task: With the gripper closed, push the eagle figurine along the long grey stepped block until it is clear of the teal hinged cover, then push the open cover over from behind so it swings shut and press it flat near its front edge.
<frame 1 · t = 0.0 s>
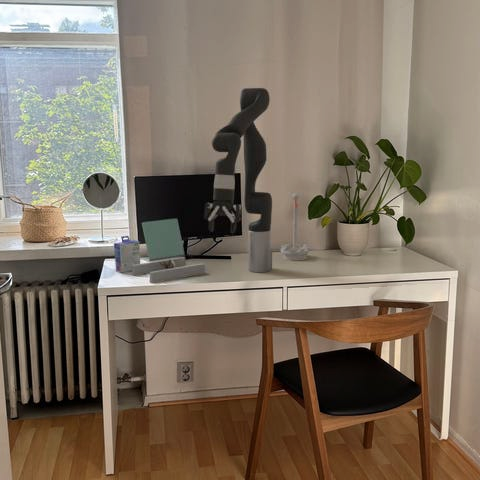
hand: (221, 232, 228), 22 cm above the table, tool pointing down, fingers open, 8 cm apart
eagle figurine: (170, 274, 259), on the table
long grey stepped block: (168, 273, 258), on the table
ink cartridge box: (128, 270, 266), on the table
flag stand: (294, 258, 288), on the table
cover: (163, 239, 267), point 12 cm above the table, hinge at 110.0°
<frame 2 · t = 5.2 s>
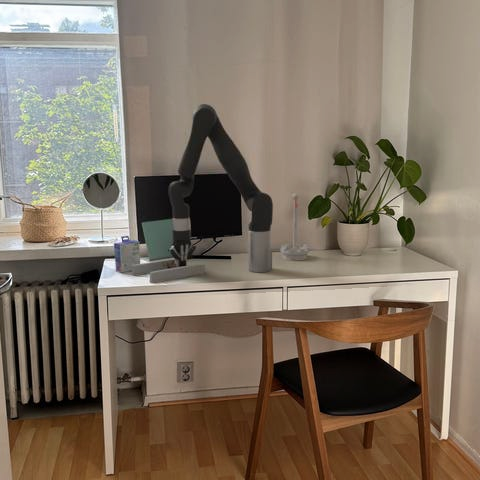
hand: (182, 268, 263), 1 cm above the table, tool pointing down, fingers closed
eagle figurine: (173, 274, 258), on the table, touching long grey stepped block, gripper
everything else where it was.
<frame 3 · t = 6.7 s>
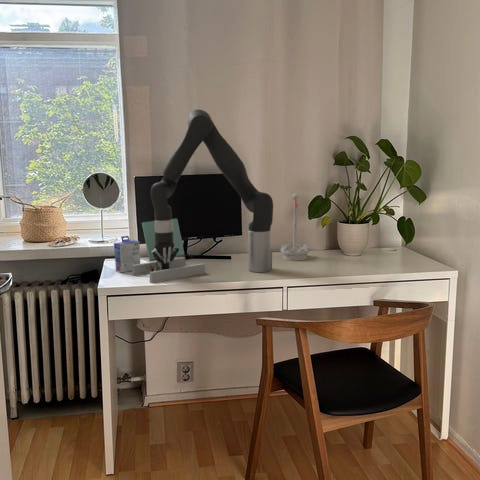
hand: (165, 271, 257), 1 cm above the table, tool pointing down, fingers closed
eagle figurine: (157, 277, 254), on the table, touching gripper
everything else where it was.
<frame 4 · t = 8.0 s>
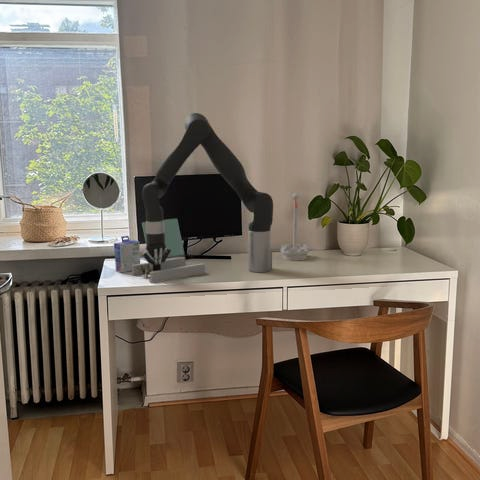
hand: (157, 273, 255), 1 cm above the table, tool pointing down, fingers closed
eagle figurine: (149, 278, 252), on the table, touching gripper
everything else where it was.
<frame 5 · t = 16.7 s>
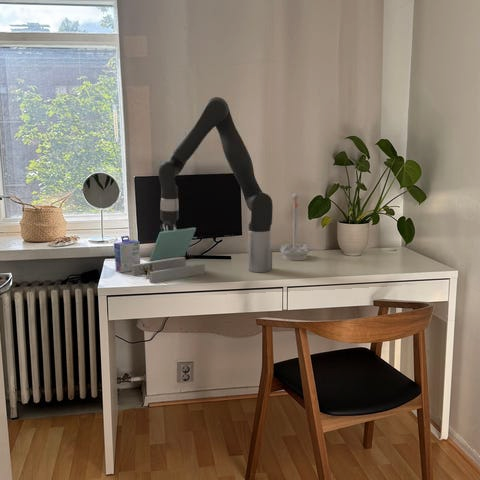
hand: (169, 249, 264), 9 cm above the table, tool pointing down, fingers closed
eagle figurine: (151, 279, 251), on the table
cover: (172, 244, 261), point 12 cm above the table, hinge at 54.0°, touching gripper
everything else where it was.
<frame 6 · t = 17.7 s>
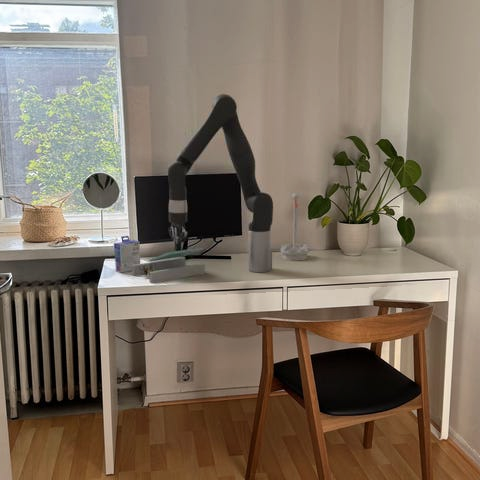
hand: (178, 251, 257), 9 cm above the table, tool pointing down, fingers closed
cover: (176, 254, 259), point 8 cm above the table, hinge at 19.9°, touching gripper
everything else where it was.
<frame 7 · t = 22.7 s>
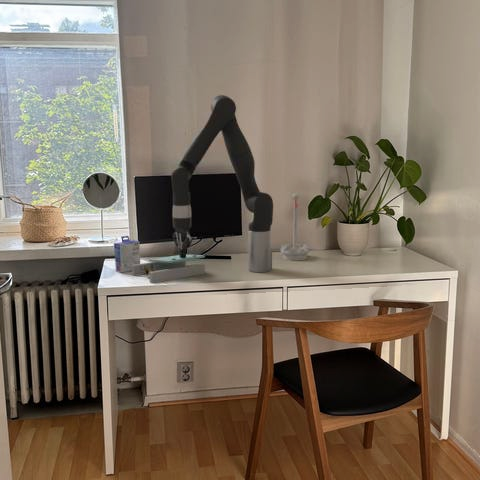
hand: (182, 257, 255), 7 cm above the table, tool pointing down, fingers closed
cover: (176, 257, 259), point 6 cm above the table, hinge at 7.8°, touching gripper
everything else where it was.
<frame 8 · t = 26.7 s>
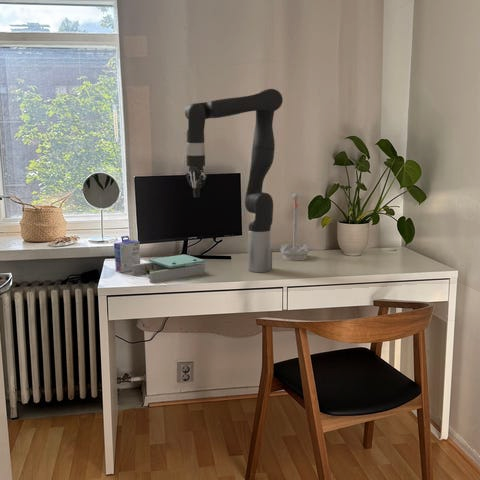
hand: (196, 197, 253), 32 cm above the table, tool pointing down, fingers closed
cover: (177, 260, 259), point 5 cm above the table, hinge at 0.9°
everything else where it was.
at the end: cover at +1° (first picture: +110°); eagle figurine inside the target area (7.7 cm from its centre), on the table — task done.
